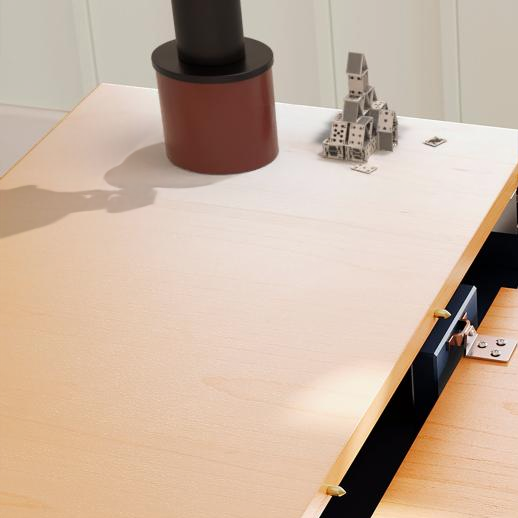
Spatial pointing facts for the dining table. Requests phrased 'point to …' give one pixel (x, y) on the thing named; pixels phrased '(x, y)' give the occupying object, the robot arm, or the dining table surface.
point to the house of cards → (363, 121)
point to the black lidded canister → (208, 31)
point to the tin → (218, 110)
